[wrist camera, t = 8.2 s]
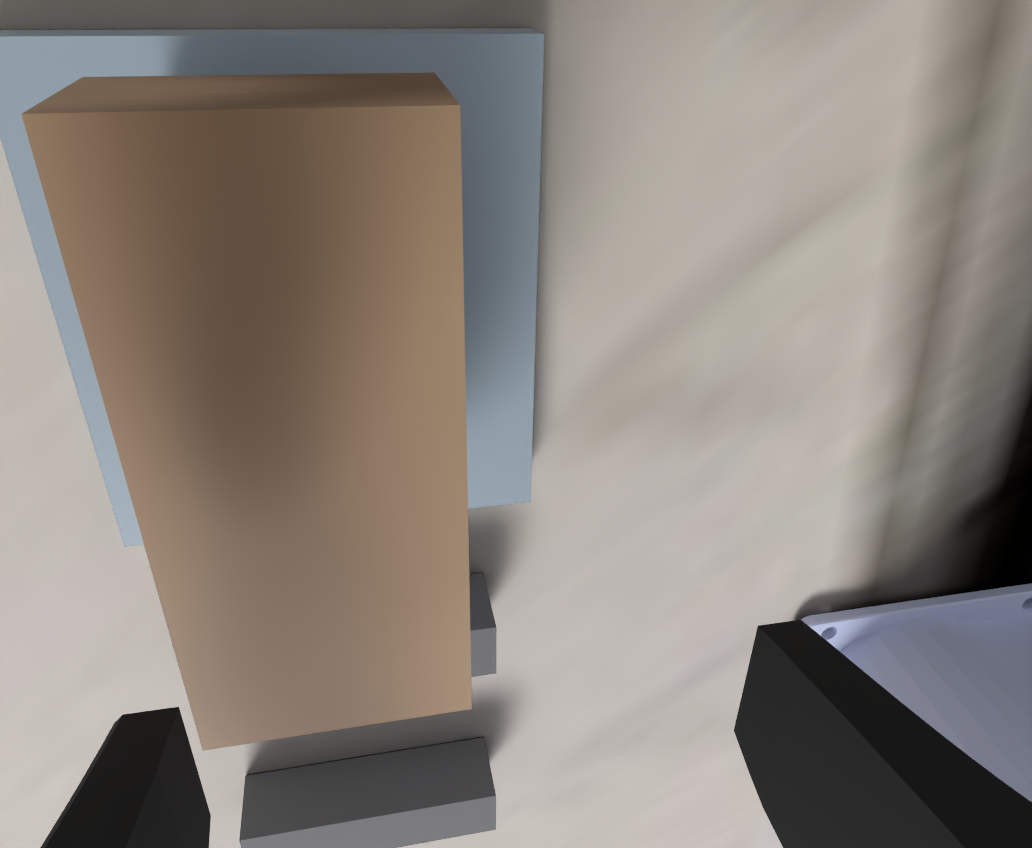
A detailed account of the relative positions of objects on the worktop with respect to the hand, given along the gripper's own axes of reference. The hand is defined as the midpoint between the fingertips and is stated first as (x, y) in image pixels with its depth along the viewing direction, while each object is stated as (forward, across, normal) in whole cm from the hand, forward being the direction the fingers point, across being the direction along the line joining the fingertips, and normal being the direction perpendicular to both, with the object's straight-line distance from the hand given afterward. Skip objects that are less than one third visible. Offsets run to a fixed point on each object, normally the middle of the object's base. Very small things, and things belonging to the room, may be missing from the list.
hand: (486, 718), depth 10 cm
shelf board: (+5, +2, -2) cm, 6 cm away
